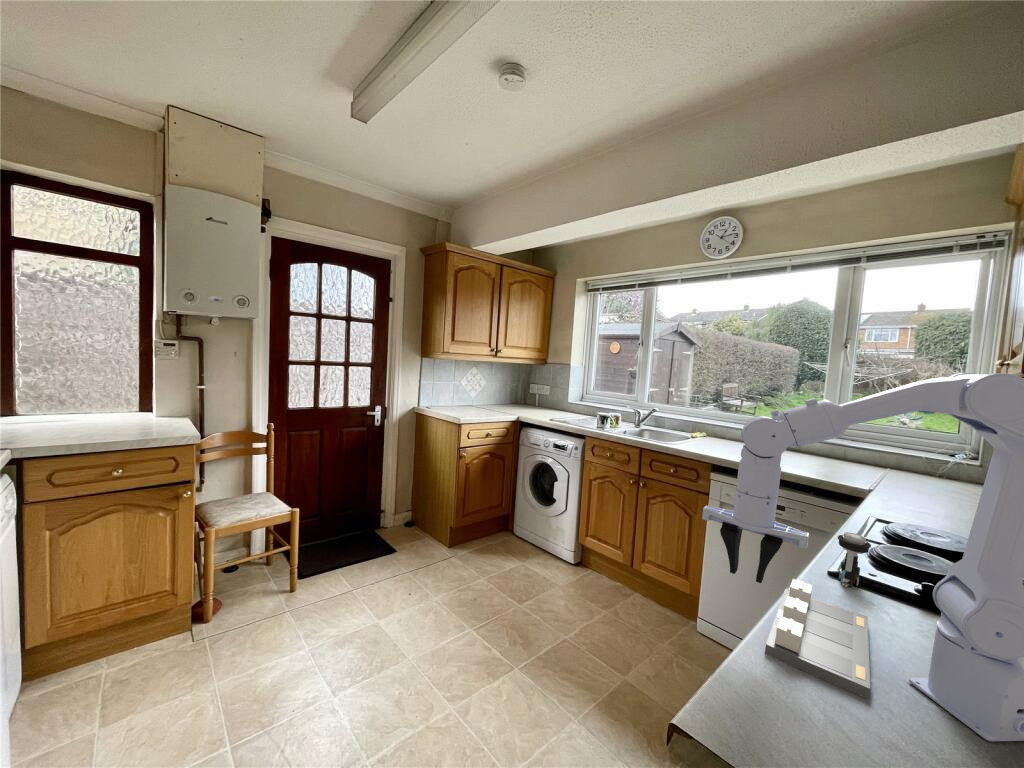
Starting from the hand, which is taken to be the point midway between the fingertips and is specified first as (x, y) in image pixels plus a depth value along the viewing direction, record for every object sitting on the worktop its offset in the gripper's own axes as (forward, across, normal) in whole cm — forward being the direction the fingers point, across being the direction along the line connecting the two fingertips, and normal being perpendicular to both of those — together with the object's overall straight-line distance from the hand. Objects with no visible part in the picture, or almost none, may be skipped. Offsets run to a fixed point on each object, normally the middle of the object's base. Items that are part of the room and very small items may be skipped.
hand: (746, 575), depth 68 cm
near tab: (+8, -6, 0) cm, 10 cm away
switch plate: (+9, -10, -8) cm, 16 cm away
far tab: (+8, -6, -16) cm, 19 cm away
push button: (+10, -13, -35) cm, 39 cm away
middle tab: (+8, -6, -8) cm, 13 cm away
